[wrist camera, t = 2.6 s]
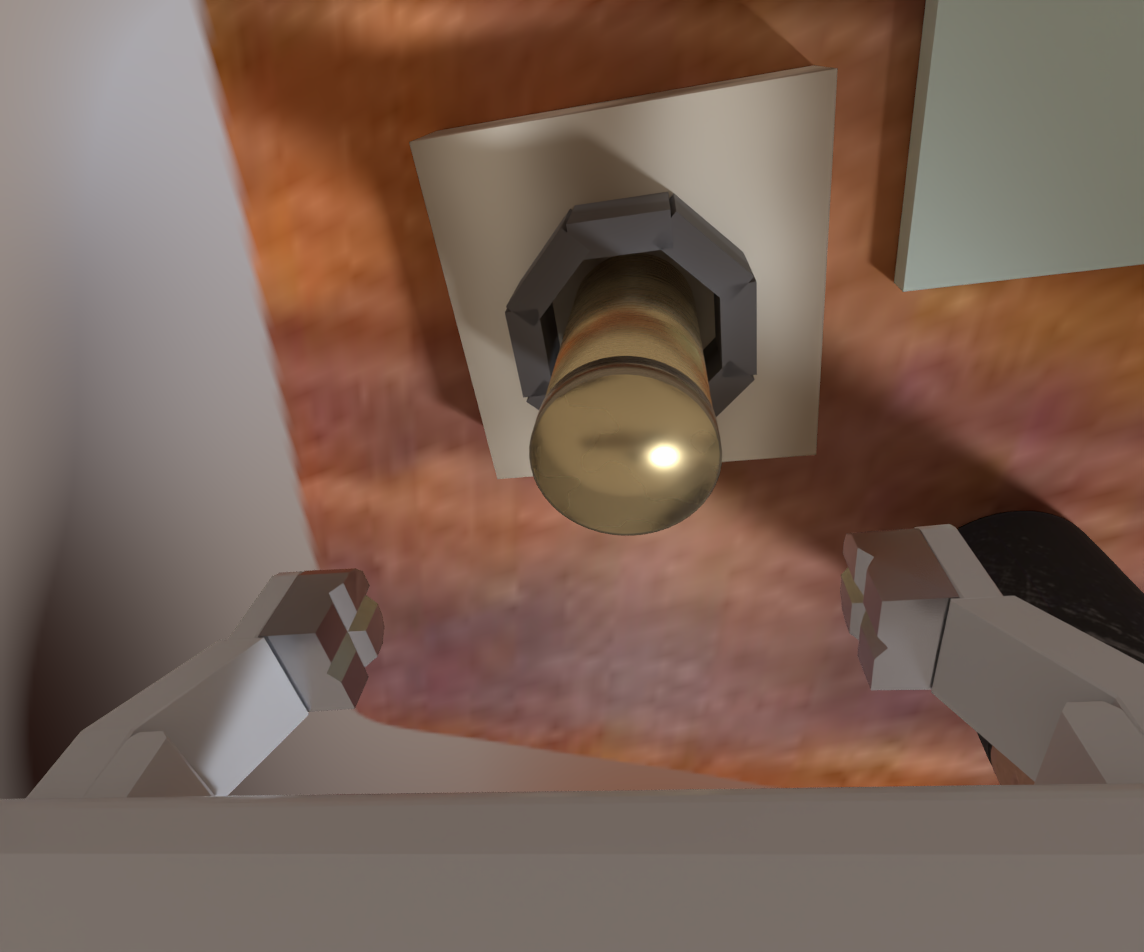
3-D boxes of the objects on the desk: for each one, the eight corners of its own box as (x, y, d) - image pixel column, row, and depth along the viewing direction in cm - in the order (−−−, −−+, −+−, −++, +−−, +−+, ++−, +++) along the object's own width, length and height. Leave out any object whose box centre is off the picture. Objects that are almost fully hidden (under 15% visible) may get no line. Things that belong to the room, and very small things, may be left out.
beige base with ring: (813, 65, 20) (863, 71, 15) (800, 415, 26) (832, 494, 21) (436, 130, 22) (379, 154, 17) (511, 440, 28) (483, 517, 23)
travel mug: (899, 633, 32) (1166, 1267, 15) (922, 509, 28) (1322, 1193, 11) (1071, 630, 31) (1563, 1316, 14) (1122, 499, 27) (1902, 1251, 10)
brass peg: (693, 242, 20) (718, 361, 12) (700, 365, 22) (725, 530, 15) (562, 260, 20) (511, 382, 13) (581, 377, 23) (547, 540, 15)
